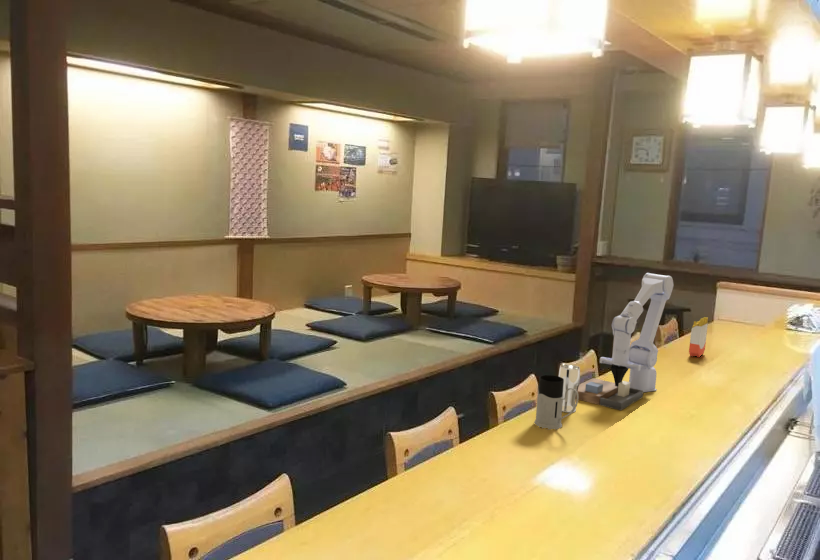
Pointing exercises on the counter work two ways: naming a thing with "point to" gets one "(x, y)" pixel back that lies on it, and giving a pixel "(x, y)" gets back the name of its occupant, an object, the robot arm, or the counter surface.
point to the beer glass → (569, 385)
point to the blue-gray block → (594, 387)
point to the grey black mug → (551, 402)
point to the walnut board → (594, 398)
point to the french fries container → (698, 337)
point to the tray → (622, 399)
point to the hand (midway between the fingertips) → (617, 385)
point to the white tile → (623, 388)
